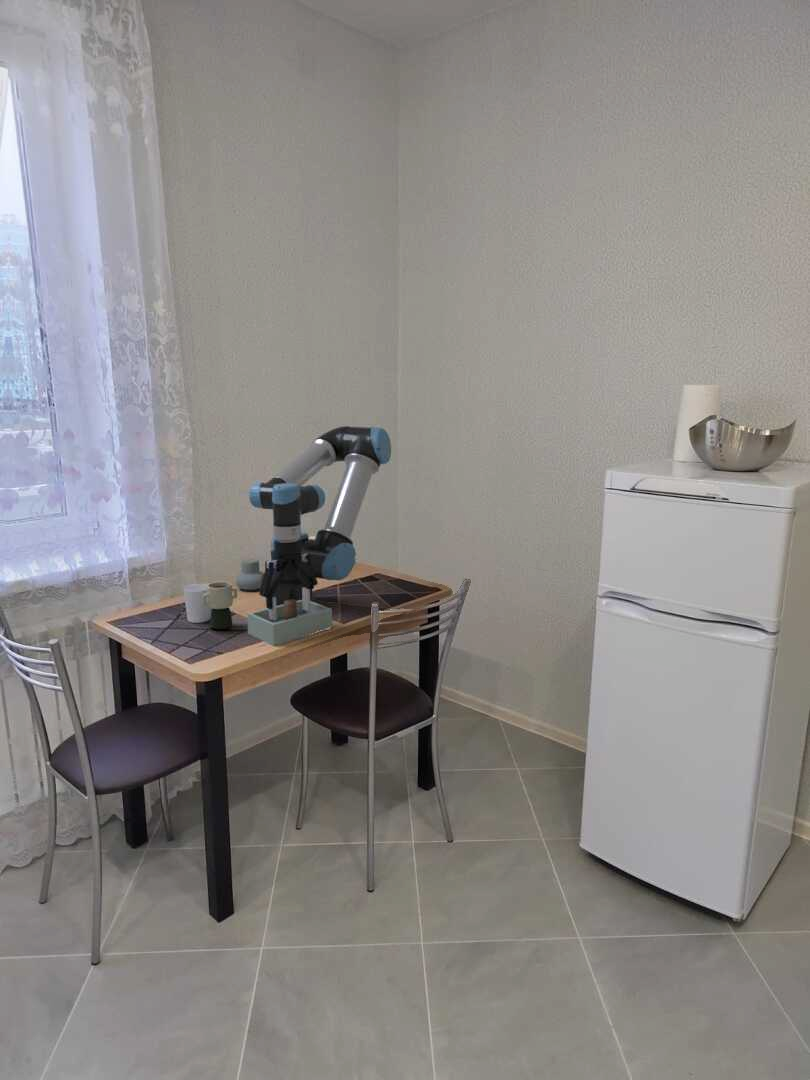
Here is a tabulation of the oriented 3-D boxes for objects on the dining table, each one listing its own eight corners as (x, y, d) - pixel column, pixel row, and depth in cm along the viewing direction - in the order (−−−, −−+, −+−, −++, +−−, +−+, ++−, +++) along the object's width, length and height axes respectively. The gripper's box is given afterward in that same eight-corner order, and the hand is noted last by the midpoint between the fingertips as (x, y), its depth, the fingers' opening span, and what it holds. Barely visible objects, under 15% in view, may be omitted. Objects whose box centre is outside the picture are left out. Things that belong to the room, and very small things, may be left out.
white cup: (181, 618, 214) (179, 586, 212) (206, 613, 219) (204, 582, 217) (192, 625, 208) (190, 592, 206) (217, 619, 213) (215, 587, 211)
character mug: (232, 620, 212) (230, 578, 210) (244, 626, 207) (242, 583, 204) (198, 628, 205) (195, 585, 202) (210, 635, 200) (207, 591, 197)
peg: (292, 634, 201) (291, 603, 199) (282, 632, 203) (281, 601, 201) (299, 630, 204) (299, 600, 202) (290, 628, 206) (289, 598, 204)
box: (273, 645, 192) (273, 625, 191) (248, 633, 202) (247, 613, 200) (332, 628, 206) (331, 608, 205) (305, 617, 215) (305, 598, 214)
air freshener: (243, 583, 251) (242, 556, 248) (266, 584, 250) (265, 556, 248) (235, 592, 240) (233, 564, 238) (259, 593, 240) (258, 564, 237)
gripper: (258, 548, 187) (262, 627, 192) (329, 535, 203) (330, 608, 208) (243, 543, 193) (247, 620, 197) (313, 531, 208) (315, 602, 213)
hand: (290, 614), depth 203 cm, fingers open, 11 cm apart
